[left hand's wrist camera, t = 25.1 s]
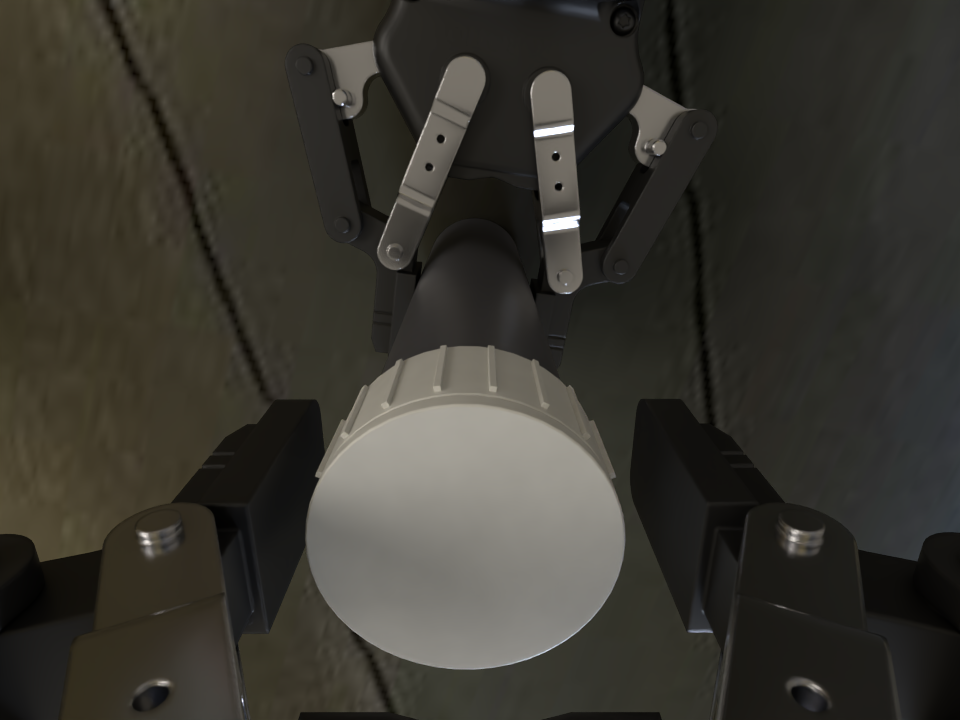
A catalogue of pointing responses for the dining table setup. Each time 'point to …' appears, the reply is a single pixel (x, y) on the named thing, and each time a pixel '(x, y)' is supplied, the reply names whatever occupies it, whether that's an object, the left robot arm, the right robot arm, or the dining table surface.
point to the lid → (465, 512)
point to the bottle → (473, 298)
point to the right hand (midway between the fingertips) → (464, 369)
